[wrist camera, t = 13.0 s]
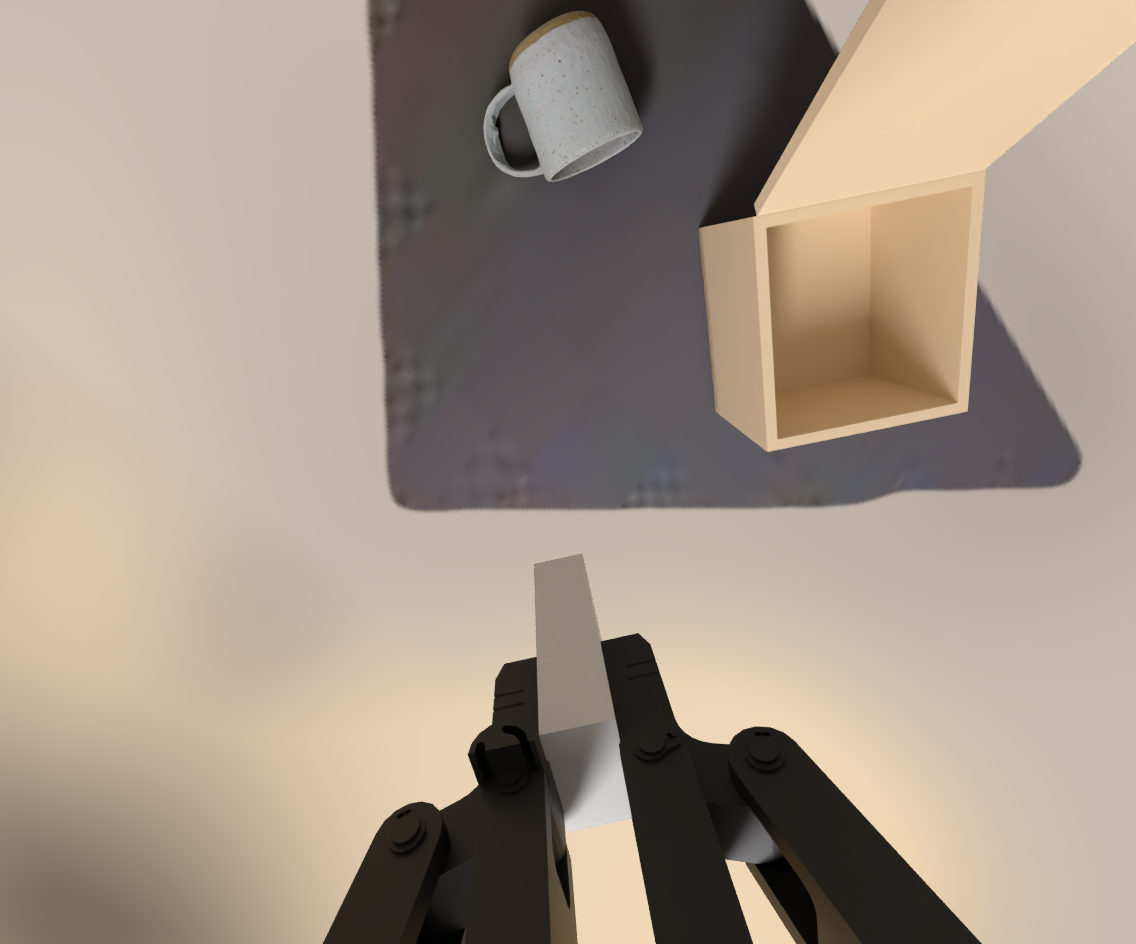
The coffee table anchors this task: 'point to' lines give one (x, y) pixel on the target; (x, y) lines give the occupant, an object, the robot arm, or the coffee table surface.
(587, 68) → the ceramic mug
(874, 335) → the carton
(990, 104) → the carton lid
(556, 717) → the robot arm
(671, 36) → the coffee table surface
